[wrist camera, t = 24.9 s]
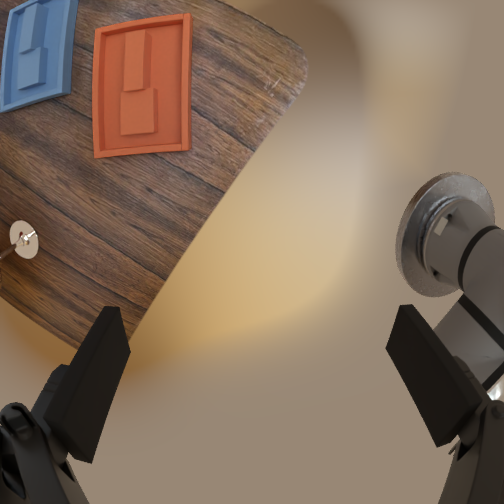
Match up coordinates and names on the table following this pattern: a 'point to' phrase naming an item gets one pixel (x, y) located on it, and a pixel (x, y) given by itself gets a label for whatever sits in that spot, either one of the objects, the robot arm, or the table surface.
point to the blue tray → (58, 61)
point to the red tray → (162, 78)
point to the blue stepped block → (33, 48)
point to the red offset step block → (138, 87)
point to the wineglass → (22, 241)
